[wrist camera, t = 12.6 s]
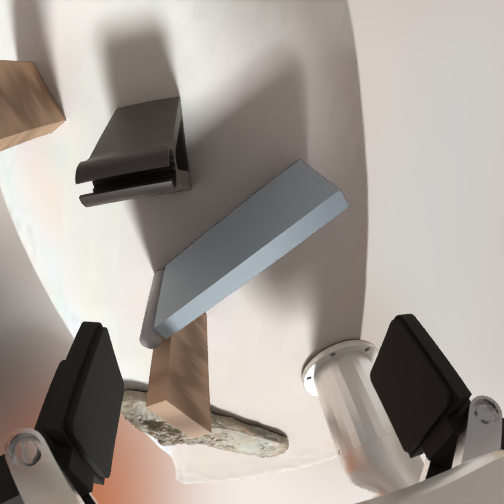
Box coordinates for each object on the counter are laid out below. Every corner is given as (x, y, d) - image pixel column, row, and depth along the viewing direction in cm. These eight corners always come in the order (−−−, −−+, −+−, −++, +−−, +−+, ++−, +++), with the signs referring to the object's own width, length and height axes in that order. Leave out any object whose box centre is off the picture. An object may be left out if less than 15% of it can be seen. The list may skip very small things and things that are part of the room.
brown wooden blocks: (206, 315, 37) (211, 433, 23) (192, 322, 37) (192, 438, 23) (33, 62, 21) (-79, 62, 7) (19, 75, 21) (-93, 85, 7)
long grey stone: (265, 447, 59) (296, 424, 56) (271, 466, 54) (304, 445, 52) (108, 405, 44) (130, 375, 41) (106, 431, 39) (128, 403, 37)
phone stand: (117, 108, 25) (63, 119, 14) (180, 96, 25) (160, 96, 15) (132, 197, 29) (94, 256, 19) (191, 188, 30) (182, 244, 19)
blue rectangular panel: (162, 286, 34) (151, 351, 25) (150, 276, 33) (135, 340, 24) (309, 172, 30) (351, 207, 21) (299, 157, 29) (338, 188, 20)
